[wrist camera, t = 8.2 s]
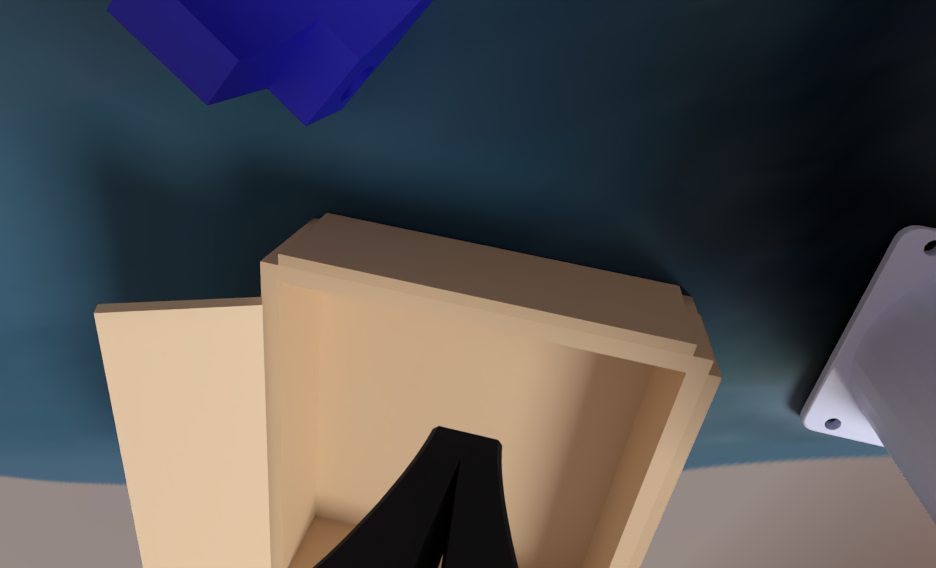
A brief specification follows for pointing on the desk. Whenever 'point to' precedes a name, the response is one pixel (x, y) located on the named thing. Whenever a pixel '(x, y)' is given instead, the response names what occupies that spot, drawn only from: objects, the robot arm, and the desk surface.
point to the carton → (475, 387)
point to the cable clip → (271, 45)
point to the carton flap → (191, 427)
